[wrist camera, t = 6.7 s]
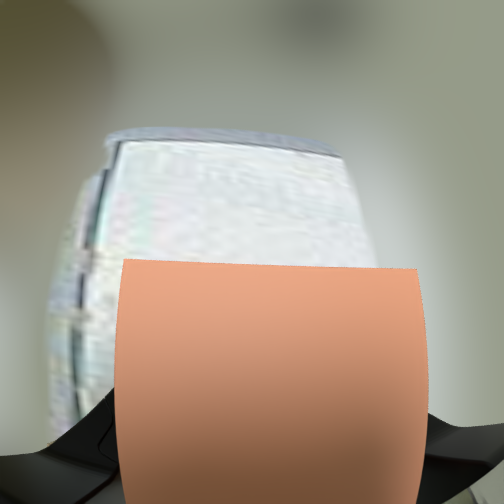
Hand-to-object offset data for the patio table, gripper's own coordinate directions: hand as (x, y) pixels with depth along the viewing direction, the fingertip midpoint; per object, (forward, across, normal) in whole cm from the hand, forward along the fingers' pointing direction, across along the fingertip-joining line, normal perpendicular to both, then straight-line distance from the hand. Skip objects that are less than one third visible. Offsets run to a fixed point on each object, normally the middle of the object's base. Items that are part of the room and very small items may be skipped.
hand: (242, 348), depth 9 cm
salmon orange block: (+4, 0, +6) cm, 7 cm away
